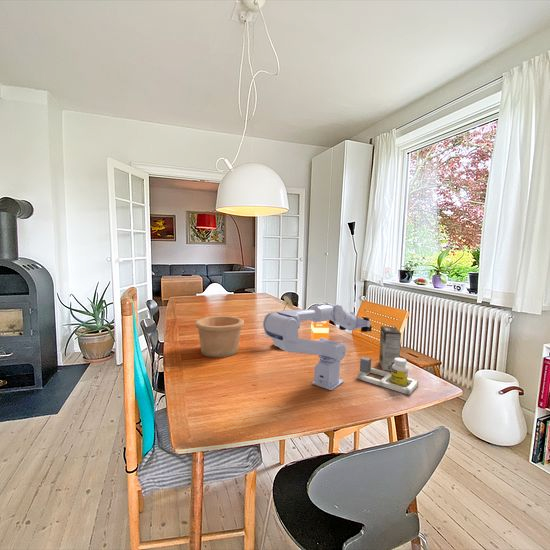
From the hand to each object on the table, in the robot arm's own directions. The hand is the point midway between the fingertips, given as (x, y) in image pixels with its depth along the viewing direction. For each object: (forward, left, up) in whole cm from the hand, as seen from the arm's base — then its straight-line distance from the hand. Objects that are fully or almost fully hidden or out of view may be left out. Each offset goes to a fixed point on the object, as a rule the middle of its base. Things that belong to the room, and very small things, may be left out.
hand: (361, 328), depth 123 cm
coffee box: (+10, -8, -17) cm, 21 cm away
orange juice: (+19, +31, -17) cm, 40 cm away
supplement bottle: (-5, -17, -17) cm, 25 cm away
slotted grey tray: (-5, -13, -17) cm, 22 cm away
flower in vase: (+1, +40, -17) cm, 43 cm away
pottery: (-26, +57, -17) cm, 65 cm away
